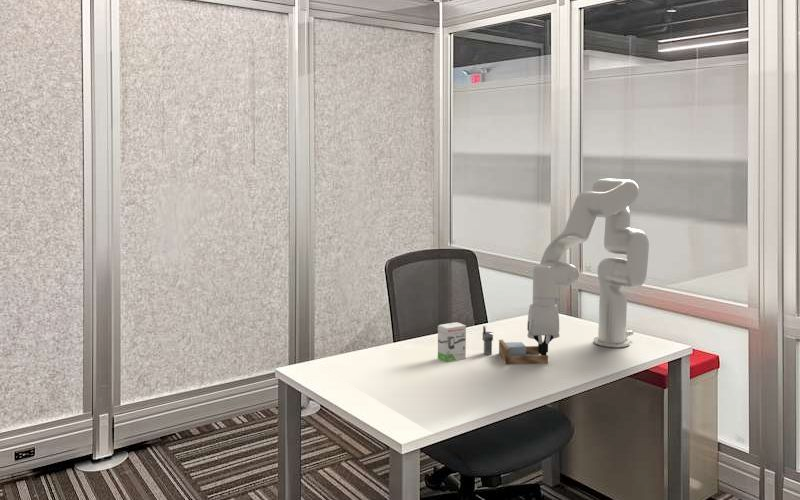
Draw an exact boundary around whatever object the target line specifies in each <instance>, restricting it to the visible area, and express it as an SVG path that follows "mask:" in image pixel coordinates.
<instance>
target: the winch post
mask: <svg viewBox="0 0 800 500" xmlns="http://www.w3.org/2000/svg"><path fill="white" fill-rule="evenodd" d="M482 328H483V329H482V330H483V332H482V341H483V354H484V356H489V355H490V356H492V354H493V352H492V349H493V348H492V347H493V344H492V343H493V340H494V332H493V331H492V332H491V331H486V328H487V327H486V325H483V327H482Z"/></svg>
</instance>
